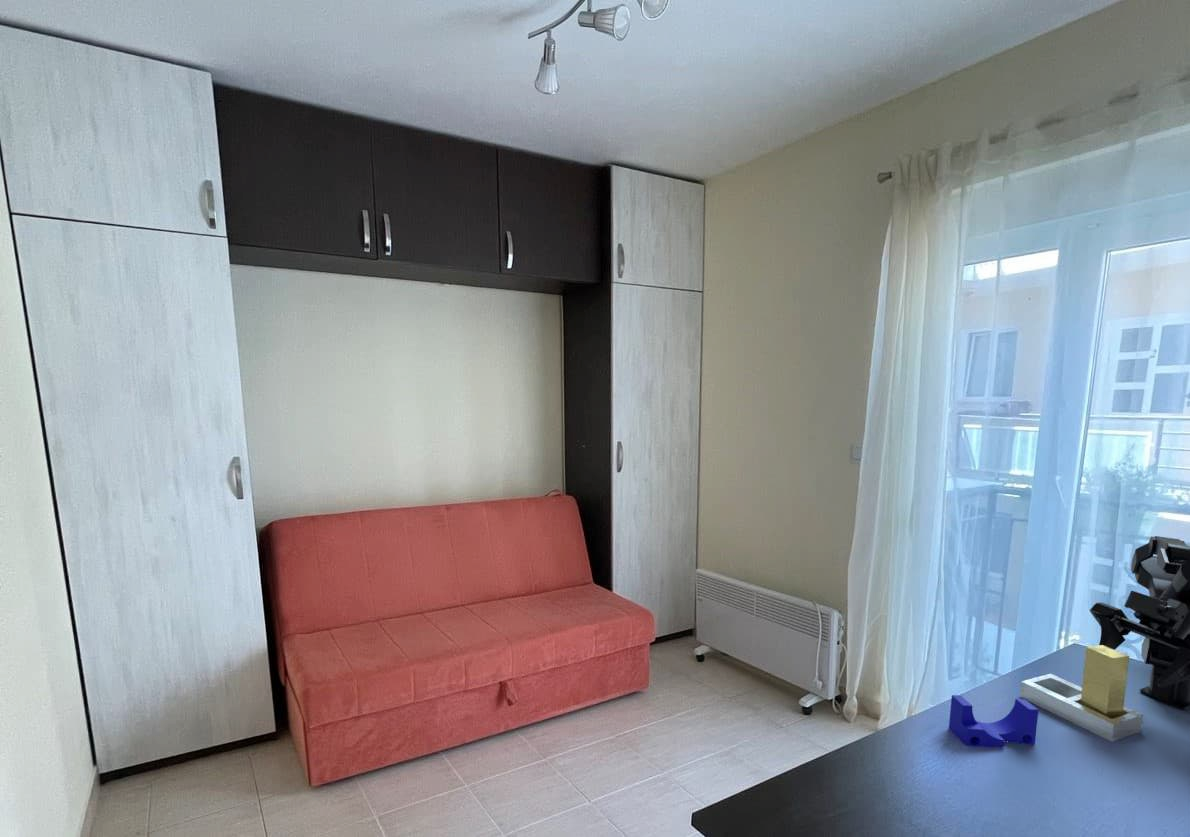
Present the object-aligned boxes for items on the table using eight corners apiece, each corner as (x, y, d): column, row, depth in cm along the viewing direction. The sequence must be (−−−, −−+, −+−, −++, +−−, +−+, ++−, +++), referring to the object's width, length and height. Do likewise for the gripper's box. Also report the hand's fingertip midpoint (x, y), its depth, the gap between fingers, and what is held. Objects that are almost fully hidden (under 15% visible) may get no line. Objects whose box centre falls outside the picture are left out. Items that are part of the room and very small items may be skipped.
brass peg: (1094, 715, 100) (1102, 645, 100) (1121, 729, 97) (1129, 655, 96) (1078, 718, 99) (1086, 647, 98) (1104, 732, 95) (1112, 658, 95)
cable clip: (965, 746, 90) (968, 710, 90) (948, 729, 95) (951, 694, 94) (1041, 751, 90) (1045, 715, 89) (1021, 733, 94) (1024, 699, 94)
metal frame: (1048, 688, 109) (1050, 673, 109) (1141, 731, 96) (1143, 714, 96) (1019, 696, 106) (1021, 681, 105) (1111, 742, 93) (1113, 724, 93)
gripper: (1101, 560, 109) (1052, 620, 107) (1230, 598, 91) (1173, 670, 89) (1127, 598, 111) (1079, 656, 109) (1257, 642, 93) (1202, 713, 91)
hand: (1127, 671), depth 100 cm, fingers open, 9 cm apart
